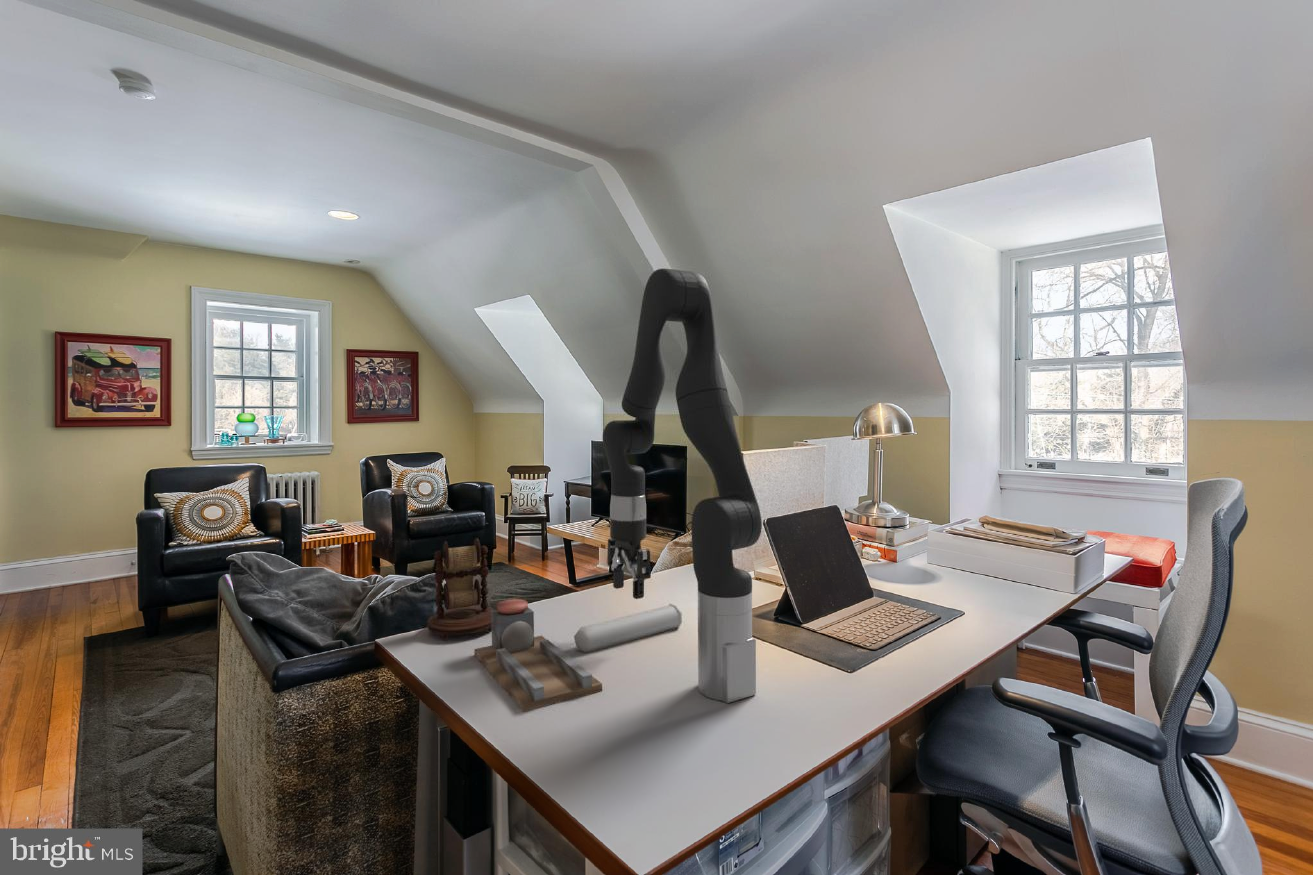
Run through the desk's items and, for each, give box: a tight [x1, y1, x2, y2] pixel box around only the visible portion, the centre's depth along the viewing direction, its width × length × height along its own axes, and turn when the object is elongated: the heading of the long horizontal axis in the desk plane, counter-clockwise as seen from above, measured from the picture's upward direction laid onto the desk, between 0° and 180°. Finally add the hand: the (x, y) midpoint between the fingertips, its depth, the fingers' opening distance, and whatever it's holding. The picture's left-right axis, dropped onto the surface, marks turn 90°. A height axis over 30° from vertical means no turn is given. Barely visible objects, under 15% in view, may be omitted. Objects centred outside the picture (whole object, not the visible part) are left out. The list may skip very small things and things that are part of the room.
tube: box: [573, 603, 683, 653], centre depth 135 cm, size 5×5×25 cm
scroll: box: [426, 537, 492, 642], centre depth 141 cm, size 15×15×20 cm
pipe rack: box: [473, 598, 603, 712], centre depth 118 cm, size 28×14×10 cm, turn 32°
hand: (628, 592), depth 134 cm, fingers open, 8 cm apart
